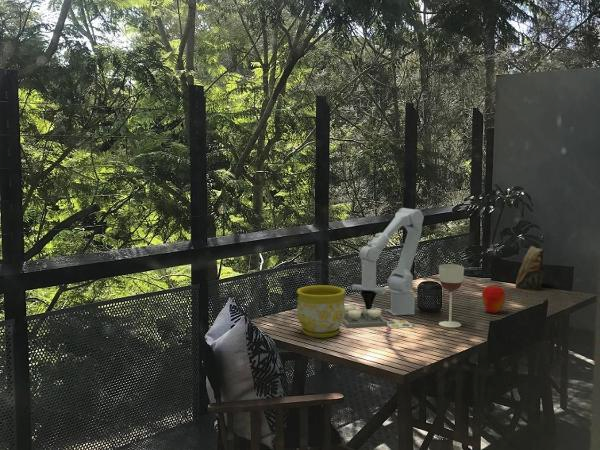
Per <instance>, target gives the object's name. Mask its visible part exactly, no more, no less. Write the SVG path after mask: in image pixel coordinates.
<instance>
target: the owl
mask: <svg viewBox="0 0 600 450" xmlns="http://www.w3.org/2000/svg"><path fill="white" fill-rule="evenodd" d="M544 257H545V256H544V249H543V248H538V247H536V246H533V245H531V246H530V247H529V248H528V250H527V252H526V254H525V255H524V256H523V259H522V263H521V266H520V267H519V270H518V273H517V277H516V281H515V289H518V290H528V291H534V292H535V291H536V292H537V291H539V292H540V291H542V284H543V280H544V279H543V277H544V276H543V272H544V260H543V259H544Z"/></svg>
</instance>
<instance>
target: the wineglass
mask: <svg viewBox="0 0 600 450" xmlns="http://www.w3.org/2000/svg"><path fill="white" fill-rule="evenodd" d="M464 274H465V267H464V266H463V265H460V264H454V263H448V264H447V263H446V264H444V263H442V264H439V265H438V275H439V276H438V277H439V282H440V286H441V287H442V288H443V289H444V290H446V291H447V292H449V299H448V300H449V303H448V304H449V305H448V307H449V309H448V311H449V313H448V321H447V320H444V321H439V322H438V325H439V326H442V327H444V328H445V327H446V328H459V327H461V326H462V324H461V323H460V322H457V321H452V307H453V306H452V303H453V301H452V300H453V292H455V291H457V290H459V289H460V288H461V286H462V284H463V280H464Z"/></svg>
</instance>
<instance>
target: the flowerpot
mask: <svg viewBox="0 0 600 450" xmlns="http://www.w3.org/2000/svg"><path fill="white" fill-rule="evenodd" d="M344 289H345V288H344ZM344 289H343V287H339V286H336V285H327V284H325V285H323V284H317V285H315V284H313V285H307V286H302V287H300V288H297V290H296V294H297V295H298V296H297V308H296V313H297V319H298V322H299V323H300V325H301V327H302V328H301V331H302V332H303V333H304V334H305V335H306V336H308V337H312V338H323V339H324V338H331V337H335V336H336V335H338V333H339V332H340V331H341V328H340V326H341V325H342V324H343V323H342V322H343V320H344V315H345V313H346V312H345V306H344V305H345V299H344V294H345V295H346V291H345V290H344Z"/></svg>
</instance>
